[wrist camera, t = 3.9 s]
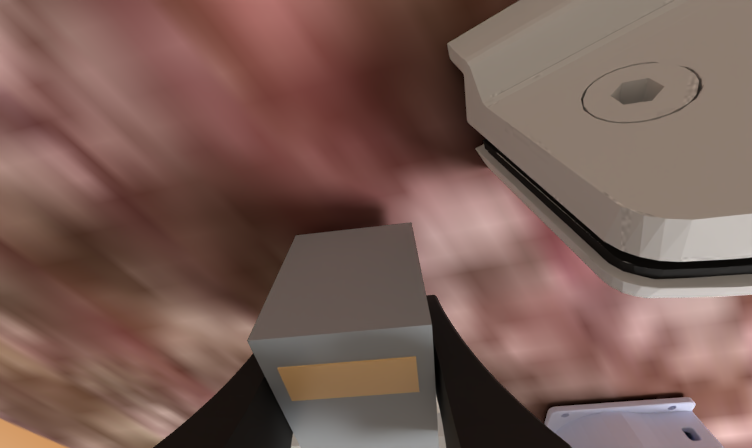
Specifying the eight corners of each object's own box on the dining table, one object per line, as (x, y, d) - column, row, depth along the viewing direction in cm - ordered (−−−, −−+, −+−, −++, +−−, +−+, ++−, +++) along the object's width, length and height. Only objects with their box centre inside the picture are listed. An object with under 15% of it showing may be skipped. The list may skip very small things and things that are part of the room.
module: (411, 222, 13) (432, 326, 8) (420, 336, 16) (439, 458, 11) (295, 235, 13) (246, 342, 8) (329, 344, 16) (308, 465, 11)
